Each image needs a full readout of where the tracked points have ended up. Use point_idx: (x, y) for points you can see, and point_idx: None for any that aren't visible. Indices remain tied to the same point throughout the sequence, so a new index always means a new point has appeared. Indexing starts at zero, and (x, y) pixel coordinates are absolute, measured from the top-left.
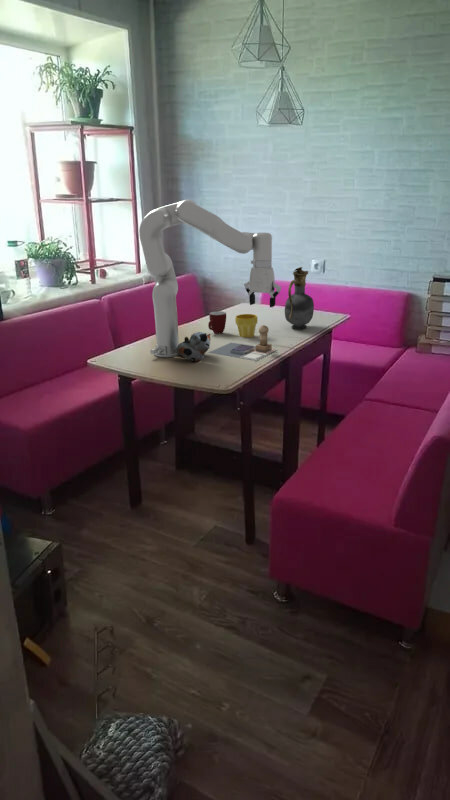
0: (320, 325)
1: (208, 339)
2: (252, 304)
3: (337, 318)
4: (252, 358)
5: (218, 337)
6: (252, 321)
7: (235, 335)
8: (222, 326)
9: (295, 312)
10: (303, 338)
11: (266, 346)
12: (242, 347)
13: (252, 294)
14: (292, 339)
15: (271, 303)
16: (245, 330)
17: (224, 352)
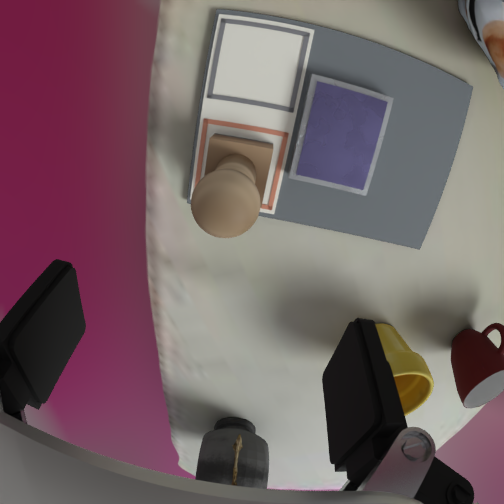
0: (193, 441)
1: (492, 2)
2: (344, 342)
3: (185, 466)
4: (241, 23)
5: (464, 303)
6: None
7: (412, 339)
8: (462, 352)
9: (223, 456)
10: (174, 361)
11: (210, 150)
12: (344, 138)
13: (363, 455)
14: (202, 348)
15: (34, 292)
16: (381, 341)
17: (413, 94)
